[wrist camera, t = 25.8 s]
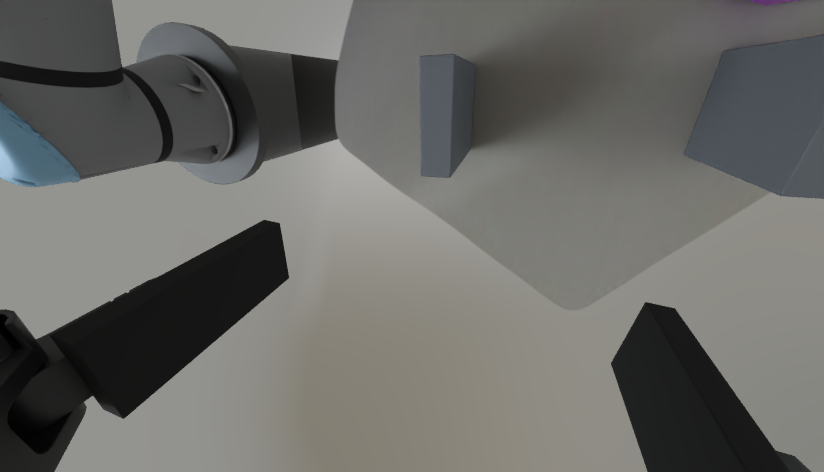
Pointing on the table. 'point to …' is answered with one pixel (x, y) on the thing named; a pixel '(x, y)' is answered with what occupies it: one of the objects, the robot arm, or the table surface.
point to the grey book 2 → (767, 117)
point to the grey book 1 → (445, 112)
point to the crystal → (771, 1)
